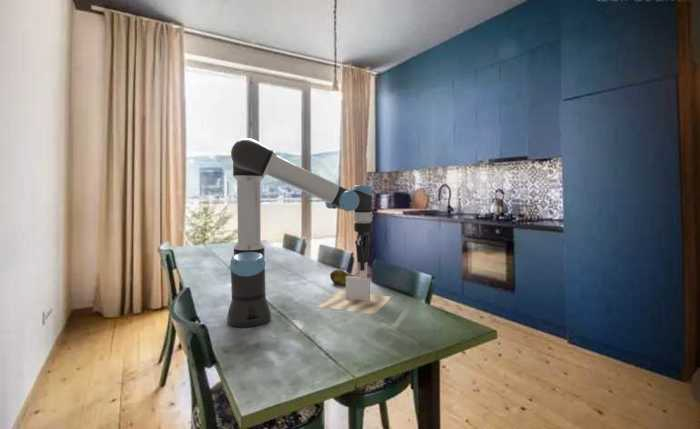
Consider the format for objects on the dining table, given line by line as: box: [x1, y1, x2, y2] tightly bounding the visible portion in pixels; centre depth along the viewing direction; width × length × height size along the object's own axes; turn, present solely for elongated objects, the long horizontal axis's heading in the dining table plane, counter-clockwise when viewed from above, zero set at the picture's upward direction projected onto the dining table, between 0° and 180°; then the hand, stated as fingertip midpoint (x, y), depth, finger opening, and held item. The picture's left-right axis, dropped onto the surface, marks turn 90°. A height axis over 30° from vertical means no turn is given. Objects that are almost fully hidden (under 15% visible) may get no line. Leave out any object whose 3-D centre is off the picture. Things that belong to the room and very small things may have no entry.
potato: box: [329, 269, 355, 287], centre depth 169 cm, size 8×13×8 cm, turn 64°
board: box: [315, 290, 392, 315], centre depth 143 cm, size 24×22×2 cm
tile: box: [345, 275, 371, 301], centre depth 146 cm, size 10×2×9 cm, turn 69°
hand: (363, 277), depth 152 cm, fingers closed
